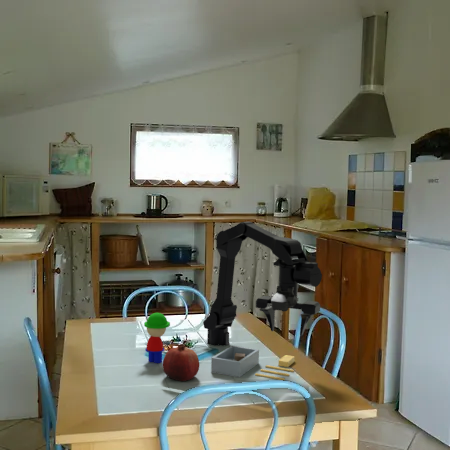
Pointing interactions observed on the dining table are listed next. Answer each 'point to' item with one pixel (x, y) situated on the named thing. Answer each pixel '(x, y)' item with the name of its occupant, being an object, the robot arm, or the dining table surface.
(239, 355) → the part block
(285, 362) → the lid
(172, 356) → the fruit
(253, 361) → the tub
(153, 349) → the toy
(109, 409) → the dining table surface
